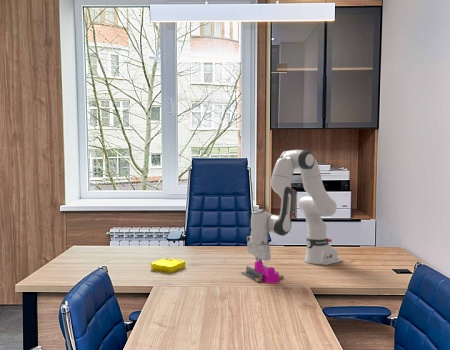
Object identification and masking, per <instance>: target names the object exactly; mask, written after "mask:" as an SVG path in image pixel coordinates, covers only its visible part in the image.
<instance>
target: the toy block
mask: <svg viewBox="0 0 450 350" xmlns="http://www.w3.org/2000/svg"><path fill="white" fill-rule="evenodd" d="M263 265H264V263H263V261H262V262H261V261H259V262H256V261H255V262H254V269H255V270H256V271H258V272H260V273H262V274H264V283H267V285H268V284H274V283H279V282H280V279H279V275H280V273H279V272H278V271H276V268H275V267H273V266H270V267H269V266H267V267H268V268H266V270H264V267H263ZM275 271H276V272H275ZM277 272H278V273H277Z"/></svg>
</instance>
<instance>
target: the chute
mask: <svg viewBox="0 0 450 350" xmlns="http://www.w3.org/2000/svg"><path fill="white" fill-rule="evenodd" d="M263 267H264V270H266V268H268V267H269V266H266V265H264V264H263ZM245 270H246V271H242V272H240V273H241V275H244V276H245V277H247V278H249V279H251V280H253V281H254V282H255V283H263V282H264V283H265V281H264V274H262V273H260V272H258V271H256V270H255V268H252V266H249V265H248V266H246V268H245ZM275 272H277V273H279V272H278V271H277V270H275ZM282 279H284V275H283V274H279V280H282Z"/></svg>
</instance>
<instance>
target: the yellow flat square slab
mask: <svg viewBox="0 0 450 350" xmlns="http://www.w3.org/2000/svg"><path fill="white" fill-rule="evenodd" d="M185 268H186V260H185V259H179V258H171V257H163V258H160V259H158V260H155V261H153V262H152V261H151V263H150V269H151V270H150V271H154V272H159V273H165V274H174V273H177V272H178V271H181V270H183V269H185Z"/></svg>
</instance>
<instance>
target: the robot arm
mask: <svg viewBox="0 0 450 350" xmlns="http://www.w3.org/2000/svg"><path fill="white" fill-rule="evenodd" d="M294 170H300V175H301V180H302V185H303V189H304V191H305V192H306V193H307V194H308V195H305V196H302V197H300V199H299V201H298V207H299V210H300V211H301V213H302V214H303V215H304V216H303V217H304V218H305V221H306V224H307V225H306V226H307V227H306V228H307V237H306V251H305V252H306V253H305V257H304V262H306V263H307V264H314V265H322V266H327V265H331V264H335V263H339V262H342V260H343V259H342V258H341V257H339V254H338V251H337V249H336V248H334V246H332V245H330V243H332V242H333V239H332V238H327V224H326V223H325V221H323V219H322V217H332V216H334V215H335V213H336V212H337V203H336V201H335V200H334V199H332V198H331V197H330V195H329V194H328V192H327V190H326V189H325V185H324V183H323V179H322V175H321V169H320V166H319V163H318V160H317V159H316V157H315V156H314V154H313V152H311V151H310V150H305V149H304V150H302V149H292V150H291V149H287V150H284V151H283V152H281V154H280V156H279V158H278V159H277V160H276V162H275V165H274V167H273V170H272V173H271V174H272V175H271V178H270V187H271V188H272V190H273V192H274V193H276V194H277V195H278V196H279V197H280V199H281V203H280V212H279V215H276V214H272V213H269V212H268V211H267V210H266V209H261V208H260V209H256V210H255V209H254V210H253V211H252V213H251V217H250V228H251V229H250V230H251V231H250V235H249V236H248V235H247V236H246V241H247V245H246V246H247V252H248V254H251V256H252V255H253V257H254V258H255V262H259V261H261V262H263V261H265V262H266V261H270V260H271V258H272V257H271V247H270V246H269V244H268V232H269V233H272V234H276V235H278V236H281V237H283V236H287V235H288V234H289V233H290V232H291V229H292V213H293V199H294V193H293V189H292V179H293V173H294Z"/></svg>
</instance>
